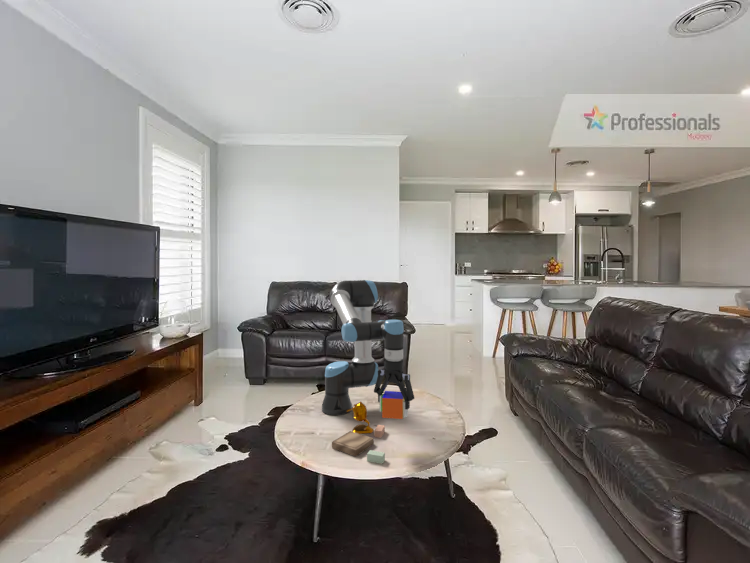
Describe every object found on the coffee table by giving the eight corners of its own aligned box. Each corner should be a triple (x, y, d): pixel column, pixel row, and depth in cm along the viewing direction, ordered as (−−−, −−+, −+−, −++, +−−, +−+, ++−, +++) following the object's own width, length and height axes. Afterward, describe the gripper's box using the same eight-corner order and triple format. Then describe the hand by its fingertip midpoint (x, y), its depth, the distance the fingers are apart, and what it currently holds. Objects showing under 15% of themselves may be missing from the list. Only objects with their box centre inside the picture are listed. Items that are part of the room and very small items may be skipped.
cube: (404, 411, 159) (404, 392, 159) (402, 419, 151) (402, 399, 151) (385, 409, 161) (385, 390, 160) (382, 417, 153) (382, 397, 152)
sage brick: (367, 461, 145) (367, 453, 145) (369, 457, 148) (369, 450, 148) (382, 464, 143) (382, 456, 143) (384, 460, 146) (384, 452, 146)
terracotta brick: (381, 438, 164) (381, 431, 164) (374, 437, 165) (374, 430, 165) (384, 432, 170) (384, 425, 170) (378, 431, 171) (378, 424, 171)
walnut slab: (331, 447, 155) (331, 441, 155) (350, 436, 165) (350, 430, 165) (355, 456, 149) (355, 449, 148) (373, 444, 158) (373, 437, 158)
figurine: (354, 424, 178) (354, 398, 177) (376, 428, 174) (376, 401, 173) (346, 431, 170) (346, 405, 169) (368, 436, 166) (368, 408, 165)
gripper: (365, 356, 158) (364, 410, 159) (414, 365, 145) (414, 423, 146) (375, 353, 164) (375, 404, 165) (423, 361, 151) (423, 416, 153)
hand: (393, 413), depth 156 cm, fingers closed on cube, 10 cm apart
